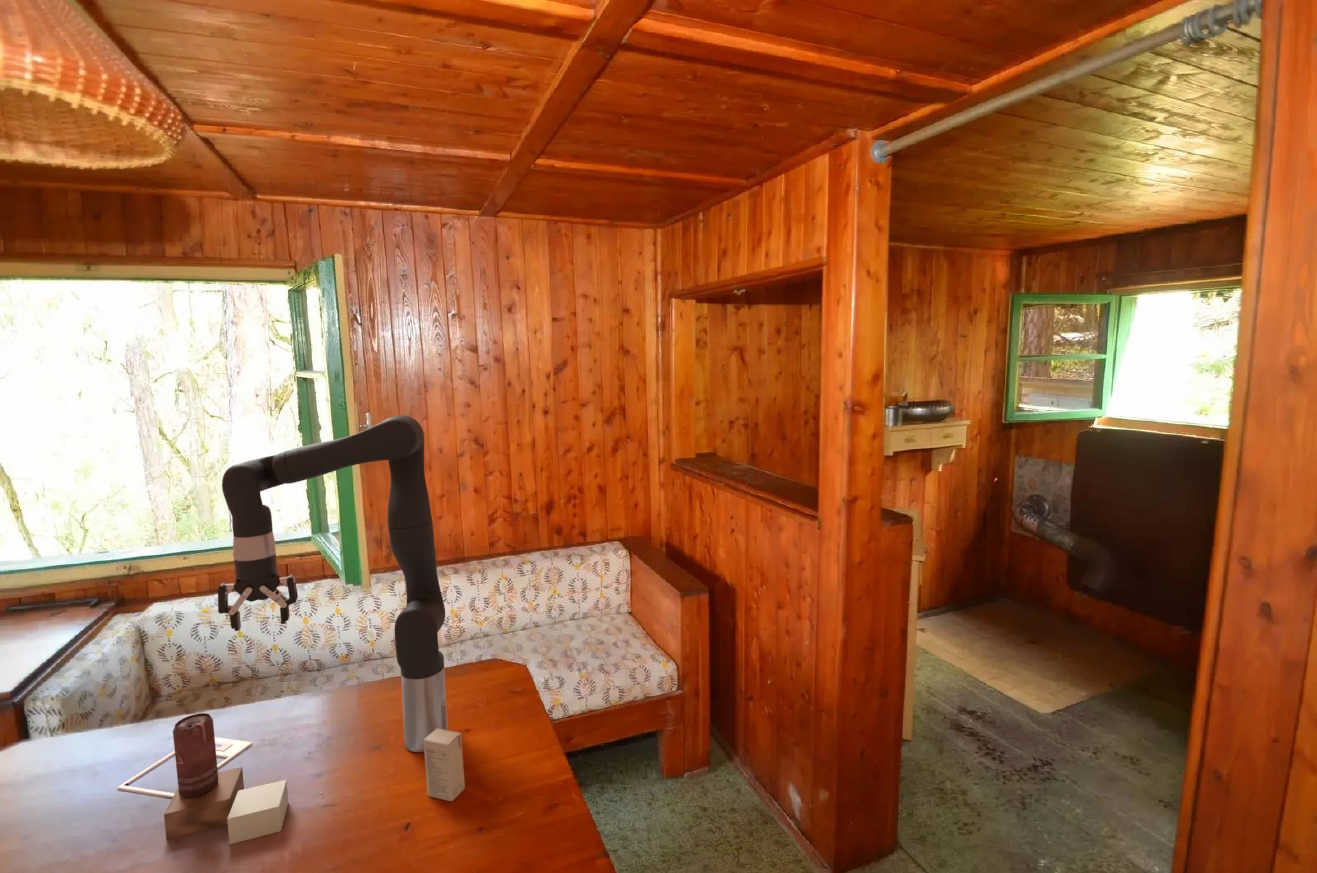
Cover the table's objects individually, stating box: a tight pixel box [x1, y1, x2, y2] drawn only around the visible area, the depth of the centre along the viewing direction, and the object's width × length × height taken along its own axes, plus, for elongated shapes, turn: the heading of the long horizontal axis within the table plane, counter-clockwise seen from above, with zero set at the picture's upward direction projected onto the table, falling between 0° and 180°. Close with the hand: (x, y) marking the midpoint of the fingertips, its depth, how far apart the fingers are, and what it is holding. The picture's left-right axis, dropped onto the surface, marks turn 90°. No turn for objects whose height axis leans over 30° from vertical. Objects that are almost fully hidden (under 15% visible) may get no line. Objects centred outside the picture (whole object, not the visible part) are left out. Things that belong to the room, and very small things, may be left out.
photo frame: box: [116, 736, 253, 799], centre depth 132 cm, size 15×1×18 cm
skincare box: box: [423, 728, 466, 802], centre depth 122 cm, size 6×4×12 cm
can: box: [172, 712, 219, 799], centre depth 116 cm, size 6×6×14 cm
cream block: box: [227, 779, 289, 845], centre depth 114 cm, size 8×8×5 cm
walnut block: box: [163, 766, 245, 840], centre depth 117 cm, size 10×10×5 cm
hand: (261, 626), depth 132 cm, fingers open, 8 cm apart
